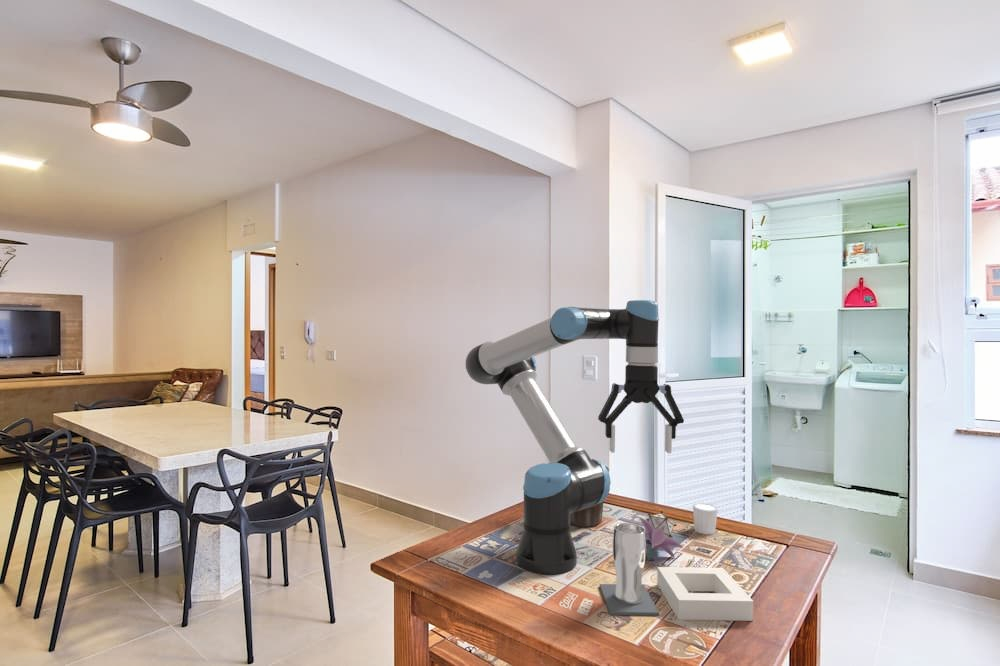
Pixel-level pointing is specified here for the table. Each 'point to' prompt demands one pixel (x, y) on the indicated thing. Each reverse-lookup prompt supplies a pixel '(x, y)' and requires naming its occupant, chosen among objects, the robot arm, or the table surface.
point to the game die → (661, 523)
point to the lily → (659, 538)
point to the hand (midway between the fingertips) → (640, 451)
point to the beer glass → (629, 562)
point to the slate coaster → (626, 609)
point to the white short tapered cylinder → (705, 518)
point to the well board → (704, 594)
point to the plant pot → (588, 515)
